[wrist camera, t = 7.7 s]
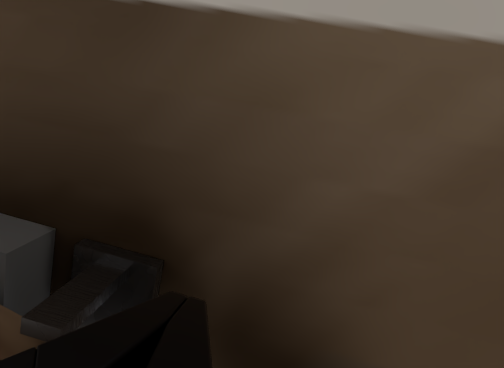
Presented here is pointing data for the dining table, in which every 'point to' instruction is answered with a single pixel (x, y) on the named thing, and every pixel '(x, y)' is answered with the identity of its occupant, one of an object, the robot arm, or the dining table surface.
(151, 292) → the stand
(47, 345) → the robot arm
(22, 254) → the bin
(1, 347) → the chute
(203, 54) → the dining table surface
